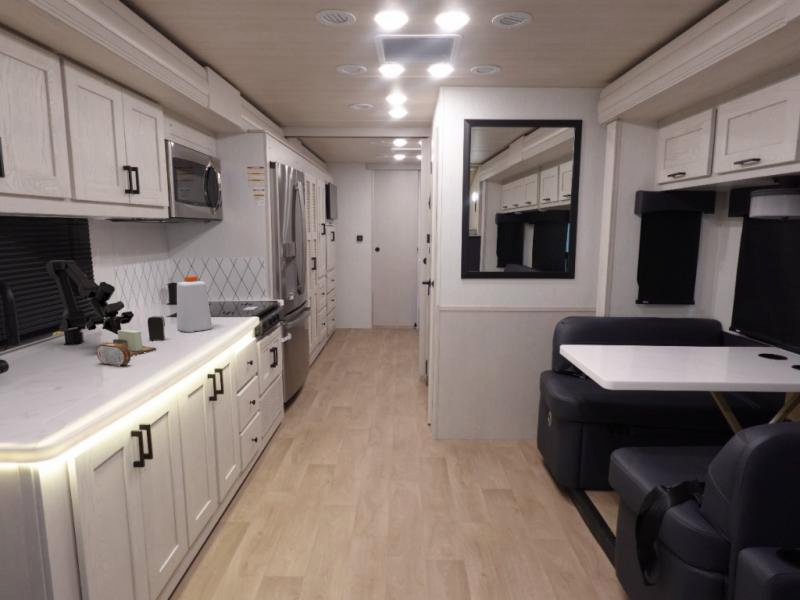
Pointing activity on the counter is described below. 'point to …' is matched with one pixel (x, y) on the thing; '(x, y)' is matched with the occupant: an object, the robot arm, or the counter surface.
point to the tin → (113, 354)
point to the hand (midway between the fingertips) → (120, 334)
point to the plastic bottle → (192, 306)
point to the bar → (131, 339)
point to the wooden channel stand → (145, 349)
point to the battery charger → (156, 328)
